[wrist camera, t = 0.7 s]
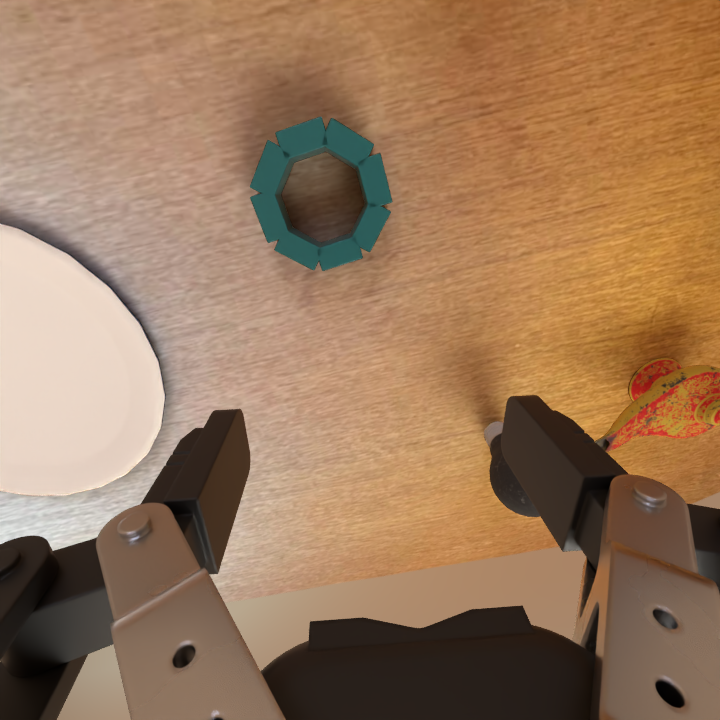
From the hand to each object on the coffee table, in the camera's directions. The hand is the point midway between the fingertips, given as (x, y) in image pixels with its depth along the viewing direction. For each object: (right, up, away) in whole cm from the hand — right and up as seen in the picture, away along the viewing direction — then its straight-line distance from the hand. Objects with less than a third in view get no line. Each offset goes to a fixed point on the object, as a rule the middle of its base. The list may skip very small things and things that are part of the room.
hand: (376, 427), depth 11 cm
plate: (-29, +1, +20) cm, 36 cm away
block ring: (-3, +14, +16) cm, 21 cm away
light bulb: (+12, -4, +25) cm, 28 cm away
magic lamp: (+26, 0, +24) cm, 35 cm away
